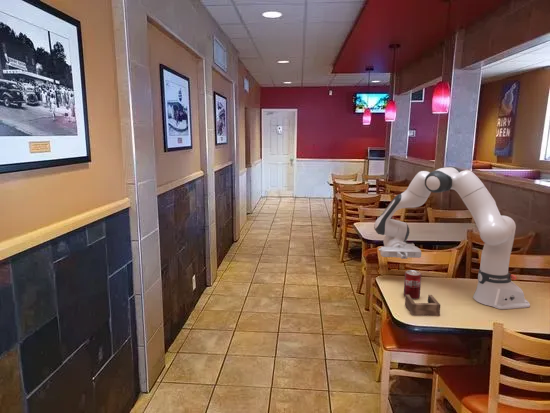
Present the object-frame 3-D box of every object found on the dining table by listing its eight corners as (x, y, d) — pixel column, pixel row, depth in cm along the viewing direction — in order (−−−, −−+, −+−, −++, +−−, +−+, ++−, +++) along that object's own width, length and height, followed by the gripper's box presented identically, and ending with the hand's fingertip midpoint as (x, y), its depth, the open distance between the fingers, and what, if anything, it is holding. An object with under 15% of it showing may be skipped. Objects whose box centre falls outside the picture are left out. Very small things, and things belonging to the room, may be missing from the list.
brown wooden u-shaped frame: (430, 305, 171) (431, 294, 170) (439, 315, 161) (440, 304, 160) (404, 304, 171) (405, 294, 170) (411, 315, 161) (412, 304, 161)
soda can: (421, 300, 176) (422, 276, 173) (404, 299, 177) (406, 274, 175) (418, 294, 183) (420, 270, 180) (402, 293, 184) (404, 269, 182)
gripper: (377, 242, 203) (384, 250, 190) (416, 243, 203) (425, 251, 189) (377, 254, 205) (383, 262, 191) (415, 254, 204) (424, 263, 190)
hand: (404, 257), depth 190 cm, fingers closed
